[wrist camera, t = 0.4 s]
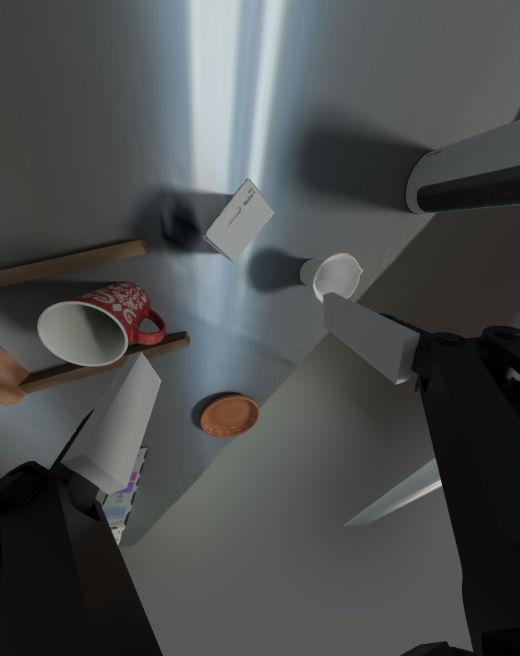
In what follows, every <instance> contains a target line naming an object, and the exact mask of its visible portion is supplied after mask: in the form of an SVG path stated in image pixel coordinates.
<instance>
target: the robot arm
mask: <svg viewBox="0 0 520 656" xmlns="http://www.w3.org/2000/svg"><path fill="white" fill-rule="evenodd" d="M323 305H324V322H325V327H326V328H327V329H328V330H329V331H331V332H332V333H333V334H334V335H336V336H337V337H338V338H339V339H340V340H342V341H343V342H344V343H345V344H347V345H348V346H349V347H350V348H352V349H353V350H354V351H355V352H356V353H358V354H359V355H360V356H362V357H363V358H364V359H365V360H366V361H367V362H369V363H370V364H371V365H373V366H374V367H375V368H376V369H377V370H379V371H380V372H381V373H383V374H384V375H385V376H386V377H387V378H388V379H390V380H391V381H392V382H393V383H395V384H399V383H402V382H404V381H407V380H409V379H410V375H411V370H412V371H414V372H415V373H416V374H418V378H417V381H416V385H415V392H417V391H418V388H419V390H420V394H421V398H422V402H423V407H424V411H425V415H426V419H427V423H428V428H429V431H430V436H431V440H432V444H433V449H434V453H435V457H436V461H437V465H438V470H439V474H440V478H441V482H442V486H443V490H444V495H445V499H446V503H447V507H448V511H449V515H450V520H451V523H452V528H453V532H454V536H455V540H456V545H457V549H458V553H459V557H460V561H461V567H462V575H463V578H462V597H463V605H464V610H465V616H466V620H467V625H468V629H469V634H470V638H471V643H472V647H473V652H474V653H473V652H471V651H467V650H464V649H460V648H456V647H449V645H448V643H447V642H446V641H444V642H437V643H428V644H421V645H418V646H416V647H415V648H413V649H411V650H409V651H407V652H406V653H404V654H402V655H400V656H520V381H518V380H516V379H515V378H514V377H512V375H513V374H514V372H515V371H517V372H518V373H519V374H520V329H517V328H514V327H507V326H490V327H487V328H485V329H484V330H483V333H482V335H481V337H475V338H464V337H462V336H459V335H456V334H452V333H445V332H439V333H433V334H430V333H428V332H426V331H424V330H422V329H419V328H417V327H415V326H413V325H411V324H408V323H405V322H404V321H402V320H399V319H397V318H395V317H393V316H391V315H387V314H382V313H379V314H377V313H375V312H373V311H371V310H369V309H367V308H365V307H363V306H361V305H358V304H357V303H355V302H352V301H350V300H348V299H346V298H344V297H342V296H340V295H338V294H336V293H334V292H330V293H327V294H324V295H323ZM160 384H161V380H160V378H159V377H158V375H157V374H156V372H155V371H154V369H153V368H152V366H151V365H150V363H149V362H148V360H147V359H146V357H145V356H144V354H143V353H142V352H139V353H135V354H132V355H130V356H129V357H128V359H127V360H126V362H125V363H124V365H123V366H122V368H121V370H120V371H119V373H118V374H117V376H116V377H115V379H114V380H113V382H112V383H111V385H110V386H109V388H108V390H107V391H106V393H105V394H104V396H103V397H102V399H101V400H100V402H99V403H98V405H97V406H96V408H95V409H94V410H92V411H91V412H90V413H89V414H88V415H87V416H86V417H85V418H84V419H83V421H82V422H81V424H80V425H79V427H78V428H77V429H76V432H74V434H73V435H72V437H71V438H70V439H71V440H70V441H68V443H67V444H66V446H65V447H64V449H63V450H62V452H61V453H60V455H59V456H58V458H57V459H56V461H55V462H54V464H53V465H52V467H51V468H50V469H49V470H48V469H46V468H45V467H43V466H41V465H40V464H38V463H37V462H35V461H28V462H26V463H24V464H21V465H19V466H18V467H16V468H14V469H13V470H11V471H10V472H8V473H7V474H6V475H5V476H3V477H2V478H1V479H0V656H163V655H162V652H161V650H160V647H159V645H158V643H157V640H156V638H155V635H154V633H153V630H152V628H151V625H150V623H149V621H148V618H147V616H146V613H145V611H144V608H143V606H142V604H141V601H140V599H139V596H138V594H137V591H136V589H135V586H134V584H133V582H132V579H131V577H130V574H129V572H128V569H127V567H126V565H125V562H124V560H123V557H122V555H121V552H120V550H119V548H118V545H117V543H116V540H115V538H114V535H113V533H112V531H111V528H110V526H109V523H108V521H107V518H106V516H105V513H104V511H103V509H102V506H101V504H100V502H99V501H98V500H96V499H95V498H96V496H97V493H98V491H99V489H101V490H102V491H104V492H105V493H106V494H108V495H109V494H112V493H114V492H117V491H120V490H122V489H125V488H127V486H128V483H129V480H130V477H131V474H132V470H133V467H134V464H135V461H136V458H137V455H138V452H139V449H140V446H141V443H142V439H143V436H144V433H145V430H146V427H147V424H148V421H149V418H150V415H151V412H152V408H153V405H154V402H155V399H156V396H157V393H158V390H159V387H160Z"/></svg>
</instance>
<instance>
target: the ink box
mask: <svg viewBox="0 0 520 656" xmlns="http://www.w3.org/2000/svg"><path fill="white" fill-rule="evenodd" d="M274 212H275V211H274V209H273V208H272V207H271V205H270V204H269V203H268V201H267V200H266V199H265V198H264V196H263V195H262V194H261V192H260V191H259V190H258V189H257V187H256V186H255V185H254V184H253V182H252V181H251V180H250V179H248V178H247V179H246V180H245V182H244V183H243V184H242V185H241V187H240V188H239V189H238V190H237V192H236V193H235V194H234V195H233V197H232V198H231V199H230V200H229V202H228V203H227V204H226V206H225V207H224V208H223V210H222V211H221V212H220V214H219V215H218V216H217V218H216V219H215V220H214V222H213V223H212V224H211V226H210V227H209V228H208V230H207V231H206V233H205V234H204V236H203V238H204V239H205V240H206V241H207V242H208V243H209V244H210V245H212V246H213V247H214V248H215V249H216V250H217V251H218V252H220V253H221V254H222V255H223V256H224V257H226V258H227V259H228V260H230V261H231V262H234V261H235V260H236V259H237V258H238V256H239V255H240V254H241V253H242V252H243V250H244V249H245V248H246V247H247V246H248V244H249V243H250V242H251V241H252V240H253V238H254V237H255V236H256V235H257V234H258V232H259V231H260V230H261V229H262V228H263V226H264V225H265V224H266V223H267V221H268V220H269V219H270V218H271V217H272V215H273V214H274Z"/></svg>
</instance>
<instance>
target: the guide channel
mask: <svg viewBox="0 0 520 656" xmlns="http://www.w3.org/2000/svg"><path fill="white" fill-rule="evenodd" d="M149 252H150V250H149V248H148V246H147V243H146V241H145V239H143V240H137V241H132V242H127V243H123V244H118V245H114V246H109V247H105V248H100V249H96V250H91V251H87V252H82V253H78V254H73V255H69V256H64V257H60V258H55V259H51V260H46V261H42V262H37V263H33V264H28V265H24V266H19V267H15V268H10V269H6V270H1V271H0V287H4V286H8V285H12V284H17V283H21V282H25V281H30V280H34V279H38V278H43V277H47V276H51V275H56V274H60V273H64V272H69V271H73V270H77V269H82V268H86V267H90V266H95V265H99V264H103V263H108V262H112V261H116V260H121V259H125V258H129V257H134V256H138V255H142V254H146V253H149ZM189 343H190V338H189V336H188V333H187V331H186V332H183V333H179V334H176V335H172V336H168V337H165V338H164V339H163V340H162V341H161V342H159V343H157V344H152V345H145V344H140V345H137V346H133V347H130V348H127V350H126V352H125V354H124V355H123V356H122V357H121V358H120V359H119V360H117V361H115V362H114V363H111V364H108V365H104V366H96V367H91V366H82V365H77V364H70V365H66V366H63V367H59V368H56V369H52V370H49V371H45V372H42V373H38V374H35V375H31V374H30V373H28V372H27V371H26V370H25V369H24V368H23V367H22V366H21V365H20V364H19V363H18V362H17V361H15V360H14V359H13V358H12V357H11V356H10V355H9V354H8V353H7V352H6V351H5V350H4V349H3V348H1V347H0V403H1V404H2V405H4V406H7V405H11V404H14V403H17V402H18V401H20V400H21V399H22V398H23V397H24V396H25V395H26V394H29V393H32V392H35V391H39V390H42V389H46V388H49V387H52V386H56V385H59V384H63V383H66V382H70V381H73V380H76V379H80V378H83V377H87V376H90V375H93V374H97V373H100V372H104V371H107V370H110V369H114V368H117V367H121V366H123V365H124V363H125V362H126V360H127V359H128V357H129V356H130V355H132V354H135V353H139V352H142V353H143V354H144V356H145V357H146V359H148V358H151V357H155V356H158V355H161V354H165V353H168V352H172V351H175V350H179V349H182V348H185V347H189Z"/></svg>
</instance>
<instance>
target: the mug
mask: <svg viewBox="0 0 520 656" xmlns="http://www.w3.org/2000/svg"><path fill="white" fill-rule="evenodd" d="M149 307H150V302H149V299H148V297H147V295H146V293H145V292H144V291H143V290H142V289H141V288H139V287H138V286H136V285H134V284H131V283H128V282H117V283H113V284H110V285H108V286H106V287H103V288H100V289H97V290H95V291H92V292H90V293H87V294H84V295H82V296H79V297H76V298H74V299H71V300H68V301H63V302H59V303H55V304H53V305H51V306H49V307H48V308H47V309H45V310H44V311H43V312H42V314H41V315H40V317H39V319H38V323H37V330H38V334H39V337H40V339H41V341H42V342H43V344H44V345H45V346H46V347H47V348H48V349H49V350H50V351H51V352H52V353H53V354H55V355H56V356H58V357H59V358H61V359H63V360H65V361H68V362H70V363H73V364H77V365H82V366H91V367H96V366H104V365H108V364H111V363H114V362H115V361H117V360H119V359H120V358H121V357H122V356H123V355H124V354H125V352H126V350H127V348H128V343H129V342H130V341H132V342H136V343H140V344H145V345H152V344H157V343H159V342H161V341H162V340H163V339H164V337H165V333H166V325H165V323H164V321H163V320H162V318H161V317H160V316H159V315H158V314H157V313H156V312H154V311H153V310H152V309H150V308H149ZM144 318H148V319H150V320H151V321H153V322H154V323H155V324H156V325H157V327H158V328H159V329H160V331H159V332H156V333H143V332H140V331H139V328H138V327H139V325H140V324H141V322H142V320H143V319H144Z"/></svg>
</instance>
